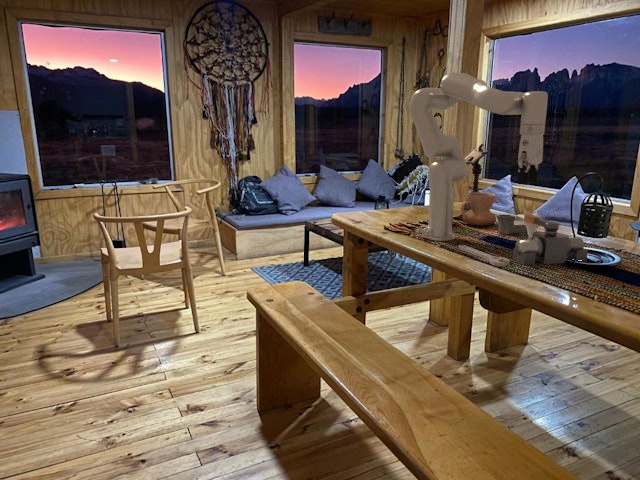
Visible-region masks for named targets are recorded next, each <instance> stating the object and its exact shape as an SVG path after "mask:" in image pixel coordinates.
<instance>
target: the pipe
mask: <svg viewBox="0 0 640 480" xmlns="http://www.w3.org/2000/svg"><path fill="white" fill-rule="evenodd" d="M495 216H496V220H497V223H498V225H497V226H498V230H497V231H498V233H499V234H500V235H507V236H508V235H521V234H522V235H523V234H524V235H525V234H528V231H527V228H526V225H525V224H515V219H516V216H515V215H512V214H504V213H503V214H501V213H500V214H496V215H495Z"/></svg>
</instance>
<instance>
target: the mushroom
mask: <svg viewBox="0 0 640 480" xmlns="http://www.w3.org/2000/svg"><path fill="white" fill-rule="evenodd" d="M532 215H535V216H538V217H540V218H541V219H543V218H542V217H541V216H540V215H539V213H538V212H537V211H536V212H535V213H533V214H532ZM517 216H518V217H519V219H520V221H521V220H522V222H523V223H524V224H523V225H526V228H527V231H528V233H527V234H528V240H530V238H531V237H533V233H535V232H536V230H537V229H538V228H540V227H541V226H540V225H537V224H532V223H529V222H526V221H524V216H525V214H517Z"/></svg>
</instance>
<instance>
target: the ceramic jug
mask: <svg viewBox="0 0 640 480" xmlns="http://www.w3.org/2000/svg"><path fill="white" fill-rule="evenodd" d="M496 196H497V195H496V194H495V193H492V192H480V191H479V192H476V193H471V192H469V193H466V198H467V199H466V200H465V201H462V202H461V204H460V212H461V215H462V220H463V221H464V223H466V224H468V225H470V226H474V227H489V226H491V225H494V224H495V223H496V221H497V217H496V215H495V214H494V213H493V212H492V211H491V209H492V206H493V205H494V204H495V203H496V204H498V203H500V201H499V200H498V199H496ZM467 200H468V201H467ZM465 204H468V205H469V206H470V209H471V210H470V211H468V212H467V213H465V212H464V206H465Z"/></svg>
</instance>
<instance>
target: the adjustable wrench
mask: <svg viewBox="0 0 640 480" xmlns="http://www.w3.org/2000/svg"><path fill="white" fill-rule="evenodd" d="M458 249H459V250H462V251H465V252H467V253H469V254H472V255H474V256H477V257H480V258H482V259H483V260H486V261H488V262H489V263H490V264H491V265H492V266H495V267H500V268H501V267H504V268H505V267H506V265H508V266H509V265H510V264H511V262H510V261H511V260H510V259H508V258H505V257H502V256H501V257H500V256H496V255H495V256H494V255H491V254H489V253H486V252H484V251H480V250H478V249H475V248H474V247H470V246H468V245H465V244H459V245H458Z"/></svg>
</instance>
